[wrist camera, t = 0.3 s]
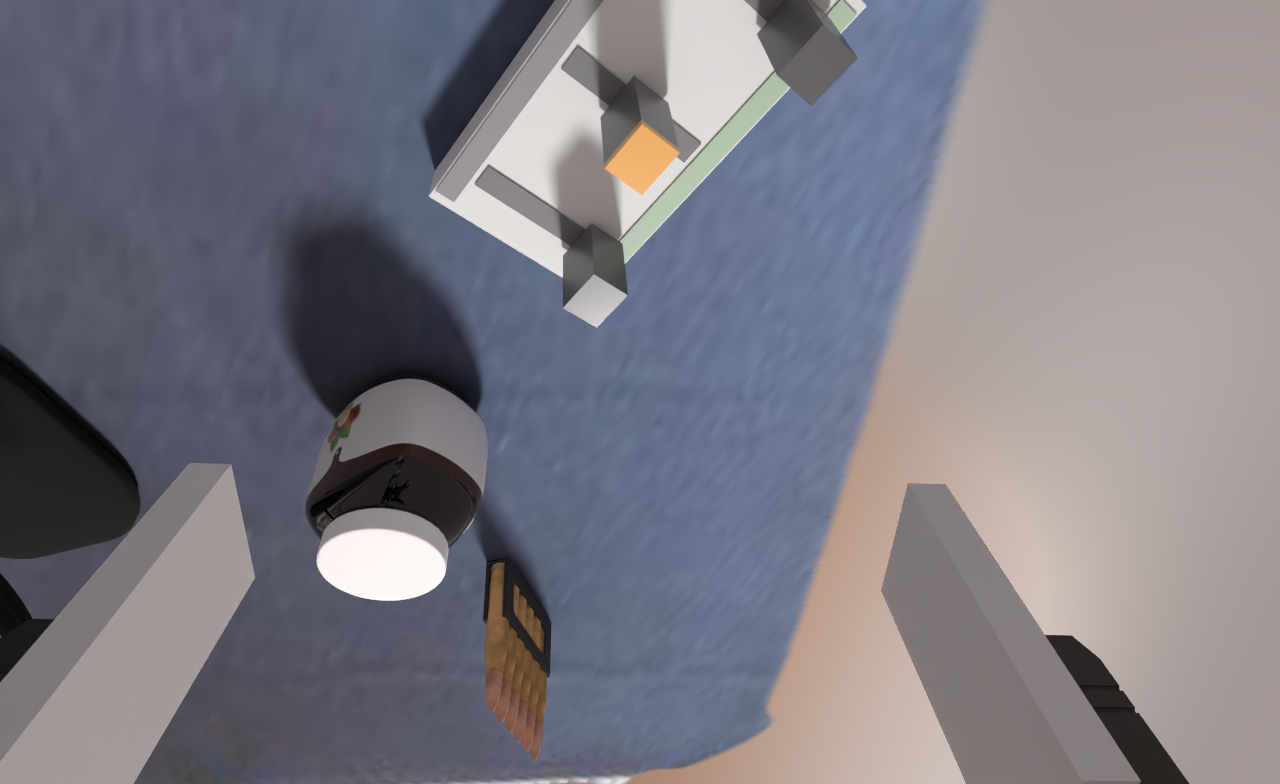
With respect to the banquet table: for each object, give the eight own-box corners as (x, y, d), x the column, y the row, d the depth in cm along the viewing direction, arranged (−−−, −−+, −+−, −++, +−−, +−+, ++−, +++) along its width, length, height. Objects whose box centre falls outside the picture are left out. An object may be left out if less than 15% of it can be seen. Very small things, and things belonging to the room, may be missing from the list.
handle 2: (798, -14, 33) (823, 24, 30) (829, 18, 34) (858, 58, 31) (756, 34, 34) (776, 75, 31) (788, 63, 35) (811, 106, 32)
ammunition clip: (486, 561, 64) (473, 708, 55) (508, 556, 63) (499, 703, 55) (531, 627, 71) (527, 767, 62) (551, 623, 71) (550, 763, 62)
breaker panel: (685, -186, 31) (693, -175, 29) (851, -13, 36) (867, 6, 34) (434, 171, 40) (428, 197, 39) (592, 270, 45) (593, 297, 43)
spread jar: (423, 342, 48) (393, 493, 40) (545, 442, 55) (542, 589, 46) (290, 431, 52) (238, 584, 44) (418, 513, 59) (395, 660, 50)
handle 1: (591, 223, 40) (593, 274, 37) (622, 243, 41) (627, 295, 38) (562, 255, 41) (562, 307, 38) (593, 274, 42) (596, 327, 39)
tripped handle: (634, 75, 35) (642, 124, 32) (668, 102, 36) (679, 153, 33) (600, 117, 36) (604, 168, 33) (634, 142, 37) (642, 195, 34)
